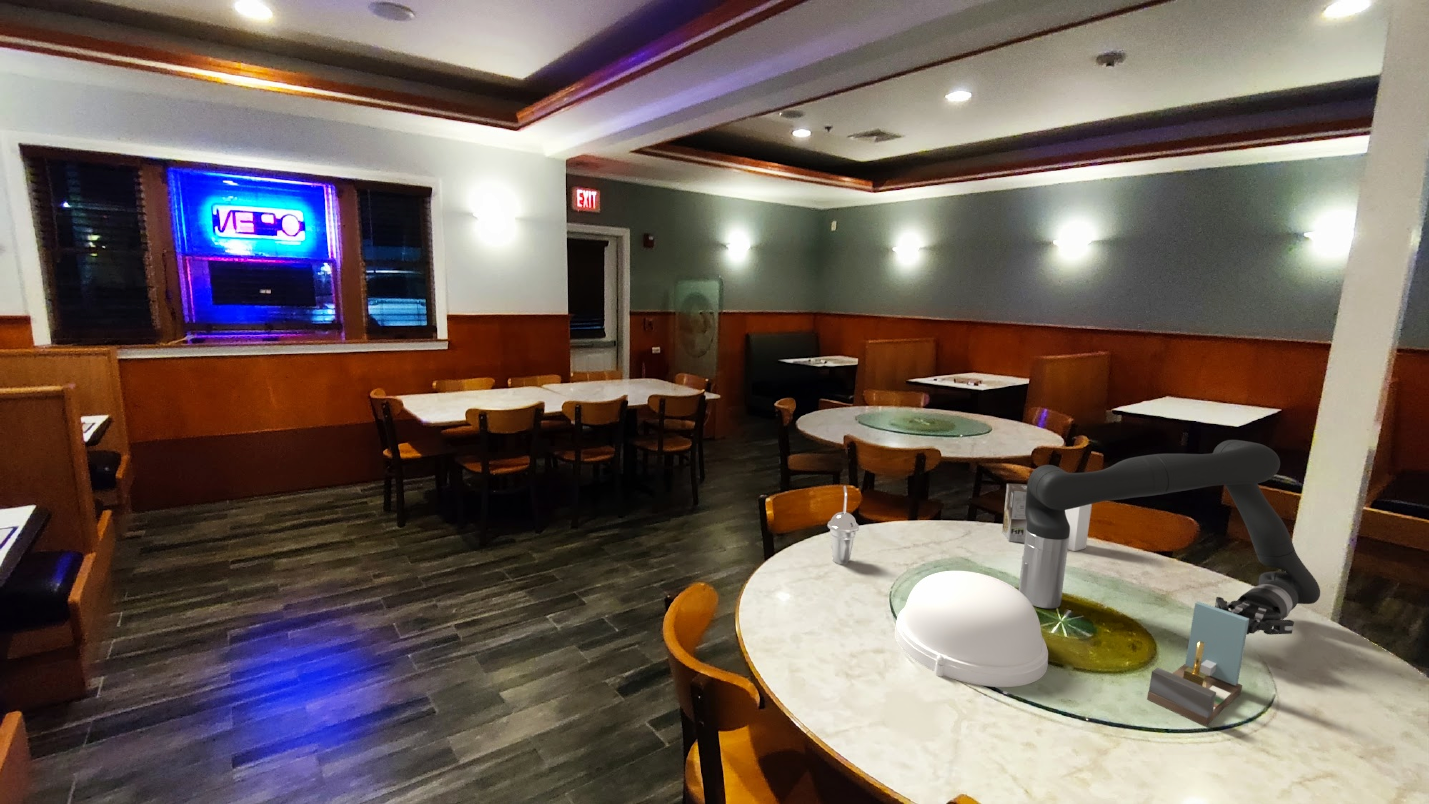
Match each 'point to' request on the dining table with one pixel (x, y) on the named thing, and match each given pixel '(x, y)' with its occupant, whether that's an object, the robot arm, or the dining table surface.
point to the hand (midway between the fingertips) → (1237, 626)
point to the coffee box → (1015, 513)
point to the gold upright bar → (1196, 668)
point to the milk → (1078, 526)
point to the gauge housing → (1191, 695)
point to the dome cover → (973, 630)
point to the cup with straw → (842, 534)
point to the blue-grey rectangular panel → (1218, 642)
